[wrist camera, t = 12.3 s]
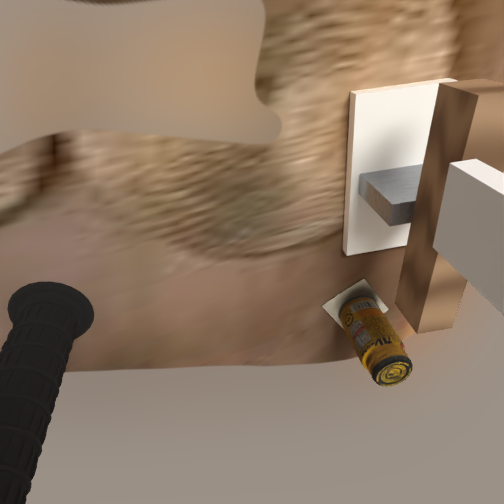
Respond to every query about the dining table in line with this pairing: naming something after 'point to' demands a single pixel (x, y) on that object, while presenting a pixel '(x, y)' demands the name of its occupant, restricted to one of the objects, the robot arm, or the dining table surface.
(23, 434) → the handle grip
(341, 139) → the dining table surface
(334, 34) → the dining table surface
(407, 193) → the steel ridge
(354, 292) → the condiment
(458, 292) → the walnut batten
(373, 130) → the white board
